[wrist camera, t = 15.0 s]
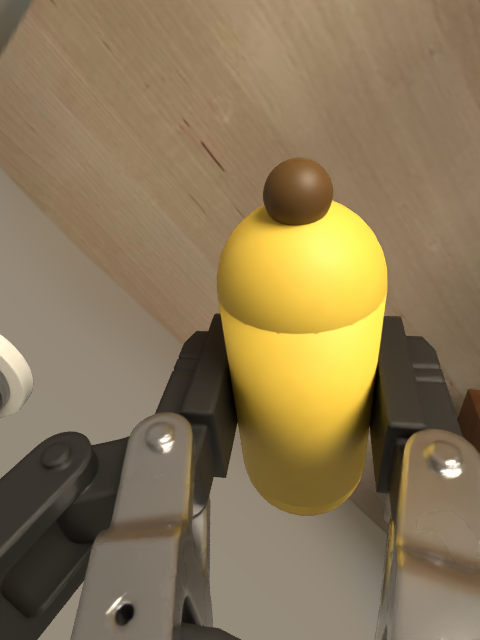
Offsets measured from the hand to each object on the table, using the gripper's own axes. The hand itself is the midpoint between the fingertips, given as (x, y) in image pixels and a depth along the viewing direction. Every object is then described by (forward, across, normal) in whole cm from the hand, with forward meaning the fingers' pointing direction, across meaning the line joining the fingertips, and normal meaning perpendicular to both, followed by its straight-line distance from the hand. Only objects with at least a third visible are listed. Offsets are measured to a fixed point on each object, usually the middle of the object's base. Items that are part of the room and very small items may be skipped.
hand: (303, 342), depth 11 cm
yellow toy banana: (0, 0, 0) cm, 0 cm away
